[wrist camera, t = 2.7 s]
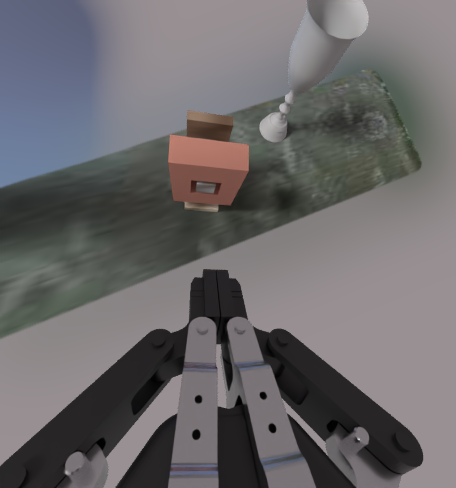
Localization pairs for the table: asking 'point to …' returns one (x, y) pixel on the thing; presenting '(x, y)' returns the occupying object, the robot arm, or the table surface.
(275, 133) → the chalice
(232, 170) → the pink block with hole
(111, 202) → the table surface
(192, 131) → the pipe stand
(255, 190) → the table surface
